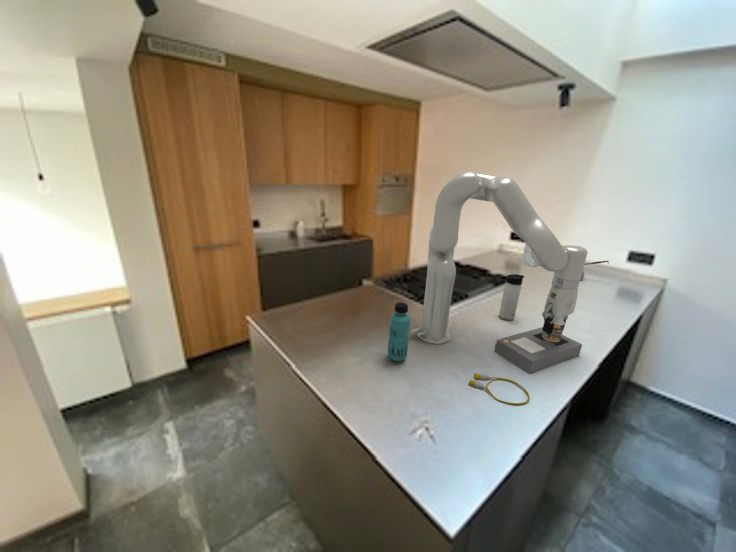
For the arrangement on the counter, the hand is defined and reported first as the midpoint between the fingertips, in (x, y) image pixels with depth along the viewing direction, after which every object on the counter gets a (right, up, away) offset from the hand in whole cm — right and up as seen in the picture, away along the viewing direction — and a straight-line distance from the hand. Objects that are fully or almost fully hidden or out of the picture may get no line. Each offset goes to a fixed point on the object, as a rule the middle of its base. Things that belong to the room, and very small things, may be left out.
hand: (552, 330), depth 108 cm
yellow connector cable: (-27, -14, -19) cm, 36 cm away
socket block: (-6, -8, 0) cm, 10 cm away
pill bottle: (0, -4, +1) cm, 4 cm away
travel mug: (-5, 0, +26) cm, 26 cm away
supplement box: (+52, +27, +111) cm, 126 cm away
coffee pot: (+67, +16, +81) cm, 106 cm away
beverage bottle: (-56, -9, -7) cm, 57 cm away
